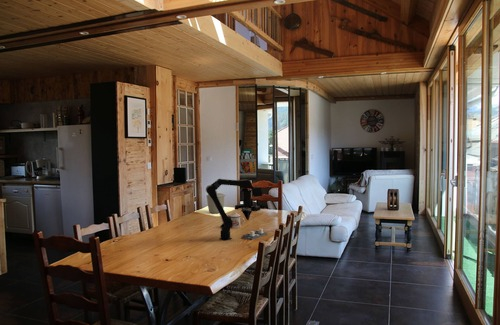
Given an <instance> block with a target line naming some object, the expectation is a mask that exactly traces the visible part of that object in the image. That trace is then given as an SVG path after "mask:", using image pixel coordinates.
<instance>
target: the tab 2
mask: <svg viewBox="0 0 500 325" xmlns="http://www.w3.org/2000/svg"><path fill="white" fill-rule="evenodd" d="M258 231H259V232H258V233H264V232H265V231H264V228H258Z"/></svg>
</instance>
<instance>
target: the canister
mask: <svg viewBox="0 0 500 325" xmlns="http://www.w3.org/2000/svg"><path fill="white" fill-rule="evenodd" d="M216 194H217V197H218V199H219V201H220V203H221V205H222V207H223V209H224V207H225V197H226V194H224V193H221V192H219V193H218V191H217V190H216ZM205 197H206V199H207V200H206V201H207V208H208V212H209V213H210V214H215V215H216V214H220V213H219V211H218V210H217V208H216V206H215V204H214V202H213V200H212V198H211V197H210V196H209V195H208V194H207V195H206V196H205Z"/></svg>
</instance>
